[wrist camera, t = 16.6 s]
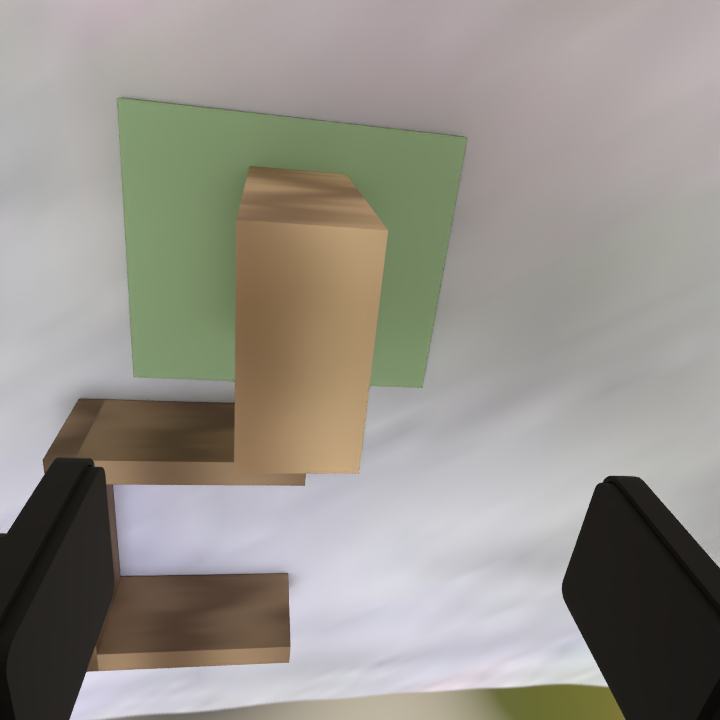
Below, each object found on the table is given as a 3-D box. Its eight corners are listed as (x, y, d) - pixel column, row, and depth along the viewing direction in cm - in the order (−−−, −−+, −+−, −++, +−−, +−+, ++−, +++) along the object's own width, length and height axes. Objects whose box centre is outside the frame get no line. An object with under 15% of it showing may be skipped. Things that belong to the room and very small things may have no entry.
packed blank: (346, 174, 25) (388, 230, 16) (331, 346, 28) (359, 473, 19) (249, 165, 24) (236, 219, 15) (246, 343, 27) (234, 473, 18)
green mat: (463, 136, 25) (467, 137, 25) (419, 381, 30) (422, 387, 30) (120, 97, 23) (117, 98, 22) (136, 371, 28) (133, 377, 27)
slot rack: (301, 405, 30) (306, 463, 25) (286, 588, 35) (288, 662, 31) (79, 398, 28) (42, 460, 24) (99, 592, 33) (73, 672, 29)
